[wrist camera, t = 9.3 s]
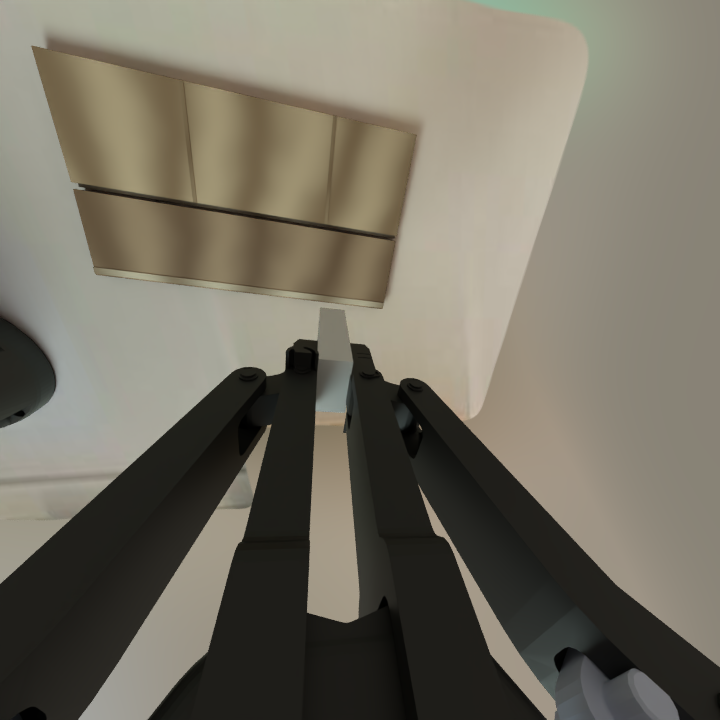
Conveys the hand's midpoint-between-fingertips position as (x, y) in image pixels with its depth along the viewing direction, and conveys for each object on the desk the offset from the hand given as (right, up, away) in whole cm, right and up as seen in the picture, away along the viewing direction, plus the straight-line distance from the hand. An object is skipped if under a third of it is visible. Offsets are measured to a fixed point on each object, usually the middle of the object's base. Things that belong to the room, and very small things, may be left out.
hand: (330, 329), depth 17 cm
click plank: (-9, +9, +10) cm, 16 cm away
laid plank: (-8, +15, +7) cm, 19 cm away
